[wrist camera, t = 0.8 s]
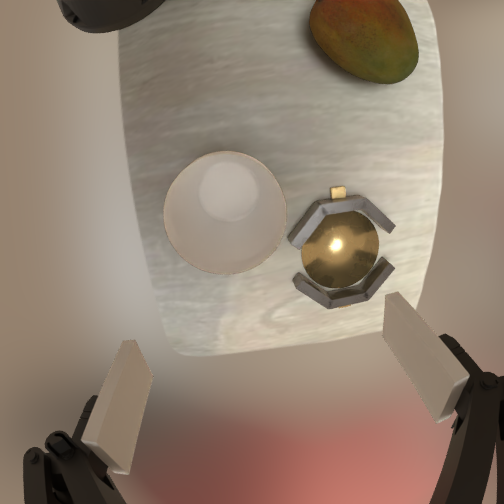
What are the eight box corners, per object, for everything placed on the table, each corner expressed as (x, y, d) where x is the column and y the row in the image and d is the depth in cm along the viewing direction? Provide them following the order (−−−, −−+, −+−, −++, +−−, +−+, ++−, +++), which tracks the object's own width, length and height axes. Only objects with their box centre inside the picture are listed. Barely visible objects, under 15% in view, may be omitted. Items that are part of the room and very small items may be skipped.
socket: (281, 194, 32) (284, 198, 30) (385, 181, 32) (394, 183, 30) (296, 314, 37) (299, 323, 35) (386, 294, 37) (393, 302, 35)
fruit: (320, -13, 23) (346, -54, 14) (408, 37, 25) (453, 15, 16) (285, 55, 27) (305, 21, 17) (382, 106, 29) (432, 97, 19)
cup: (186, 229, 33) (162, 272, 22) (189, 148, 30) (162, 149, 18) (266, 234, 33) (282, 279, 22) (273, 153, 30) (296, 156, 19)
